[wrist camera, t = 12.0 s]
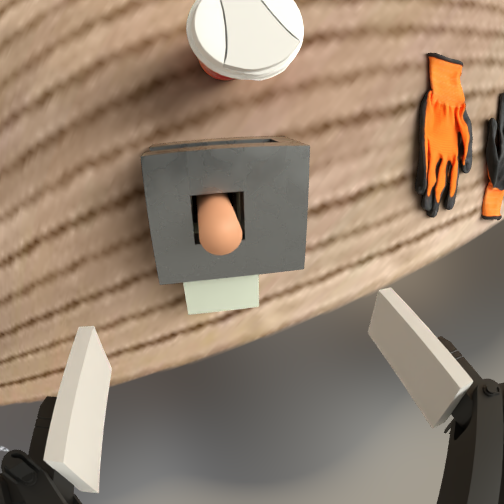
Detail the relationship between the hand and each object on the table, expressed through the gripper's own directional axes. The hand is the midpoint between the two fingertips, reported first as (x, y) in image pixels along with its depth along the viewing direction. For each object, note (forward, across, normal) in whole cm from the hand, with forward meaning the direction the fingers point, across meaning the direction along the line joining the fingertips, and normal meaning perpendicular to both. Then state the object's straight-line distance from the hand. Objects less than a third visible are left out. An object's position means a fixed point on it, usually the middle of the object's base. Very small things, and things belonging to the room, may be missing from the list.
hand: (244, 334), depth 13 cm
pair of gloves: (+23, +40, +7) cm, 47 cm away
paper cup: (+23, +2, +15) cm, 28 cm away
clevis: (+23, 0, 0) cm, 23 cm away
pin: (+23, 0, 0) cm, 23 cm away
